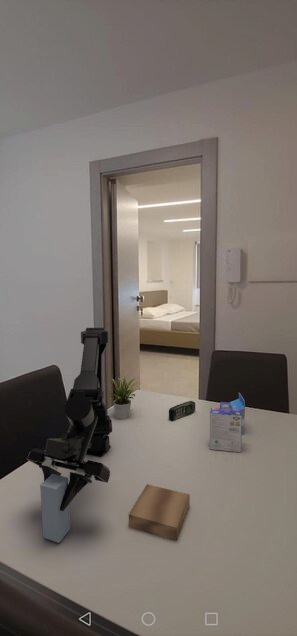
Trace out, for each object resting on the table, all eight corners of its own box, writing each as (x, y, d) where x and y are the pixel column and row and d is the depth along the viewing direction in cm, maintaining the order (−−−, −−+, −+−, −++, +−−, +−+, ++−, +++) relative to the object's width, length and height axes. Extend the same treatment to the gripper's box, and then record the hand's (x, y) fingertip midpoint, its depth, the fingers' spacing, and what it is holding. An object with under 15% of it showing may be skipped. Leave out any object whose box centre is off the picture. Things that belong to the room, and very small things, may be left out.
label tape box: (227, 423, 121) (228, 391, 119) (238, 423, 120) (239, 391, 119) (233, 434, 112) (233, 401, 110) (244, 434, 112) (245, 401, 110)
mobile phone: (172, 410, 121) (198, 399, 131) (166, 408, 124) (193, 397, 133) (172, 422, 122) (198, 411, 131) (167, 420, 124) (193, 408, 134)
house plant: (148, 411, 131) (148, 373, 129) (136, 426, 118) (135, 384, 116) (116, 407, 136) (116, 370, 134) (101, 421, 123) (100, 380, 121)
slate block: (43, 537, 67) (40, 484, 66) (55, 524, 71) (52, 473, 70) (59, 543, 66) (56, 489, 64) (70, 528, 70) (68, 477, 68)
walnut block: (128, 528, 71) (128, 514, 70) (147, 496, 81) (146, 484, 81) (176, 542, 67) (176, 527, 66) (189, 507, 77) (189, 494, 77)
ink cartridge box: (240, 444, 106) (241, 401, 104) (241, 453, 100) (242, 408, 98) (209, 441, 107) (210, 399, 106) (209, 449, 102) (210, 406, 100)
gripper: (29, 414, 73) (-6, 489, 64) (102, 427, 66) (74, 513, 57) (53, 431, 81) (24, 500, 72) (119, 445, 75) (97, 521, 66)
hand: (52, 508), depth 67 cm, fingers closed on slate block, 4 cm apart
